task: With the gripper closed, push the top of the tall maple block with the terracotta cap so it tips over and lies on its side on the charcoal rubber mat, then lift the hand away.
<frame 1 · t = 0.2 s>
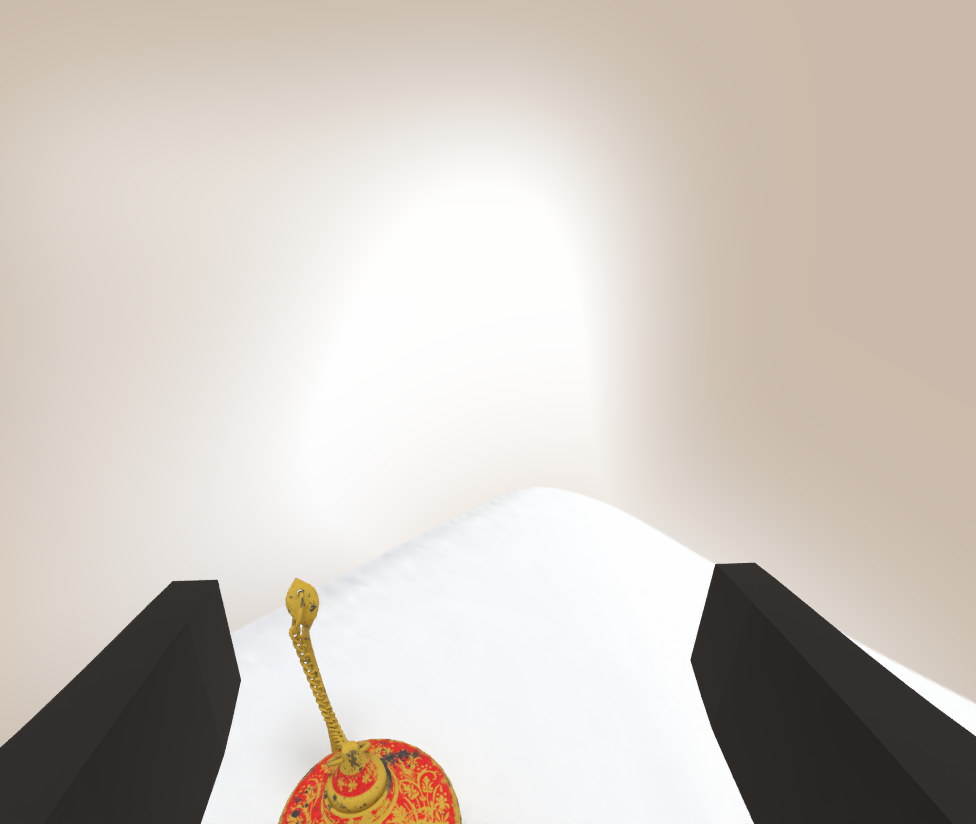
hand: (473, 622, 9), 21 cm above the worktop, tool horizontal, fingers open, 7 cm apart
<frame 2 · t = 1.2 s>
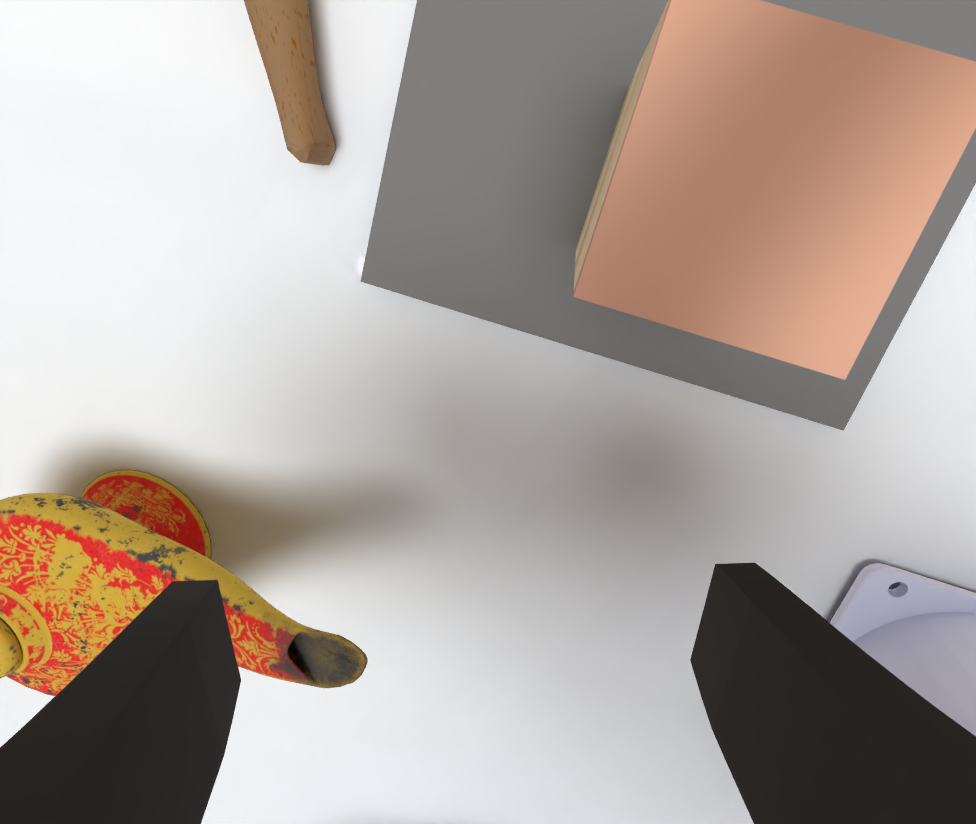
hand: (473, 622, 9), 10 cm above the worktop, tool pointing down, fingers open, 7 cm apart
magic lamp: (188, 529, 22), on the worktop
rubber mat: (701, 62, 15), on the worktop
maple block: (677, 194, 16), resting on rubber mat
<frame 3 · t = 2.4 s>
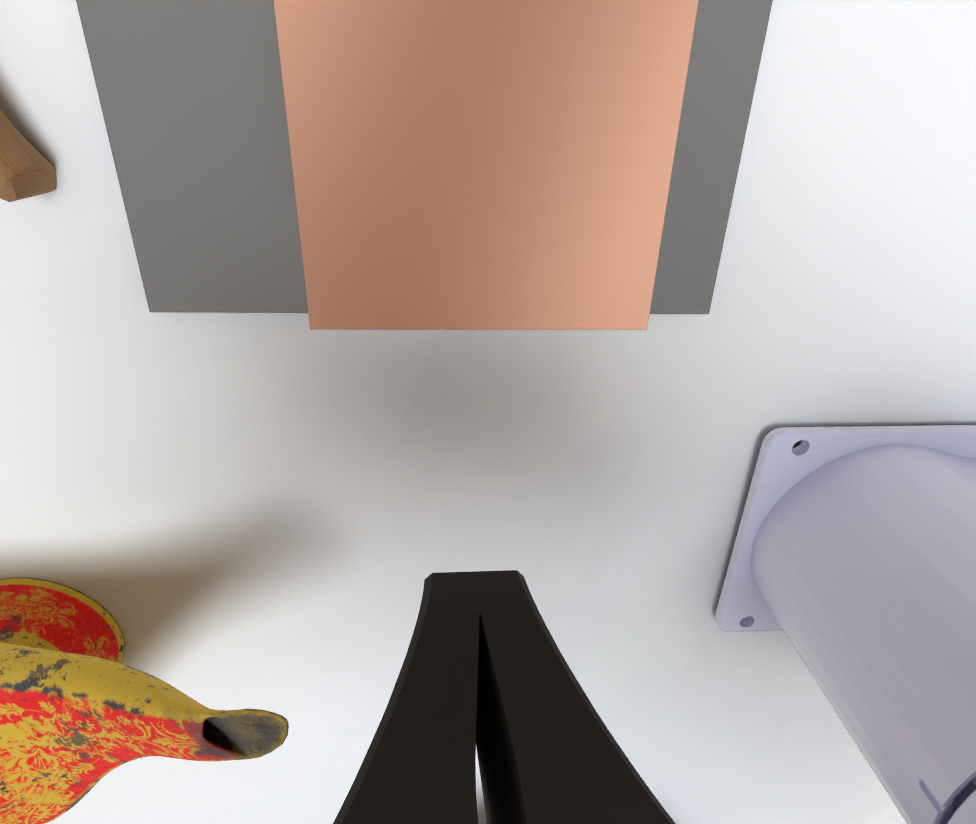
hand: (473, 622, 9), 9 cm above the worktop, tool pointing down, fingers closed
magic lamp: (87, 615, 20), on the worktop
maple block: (460, 115, 13), resting on rubber mat
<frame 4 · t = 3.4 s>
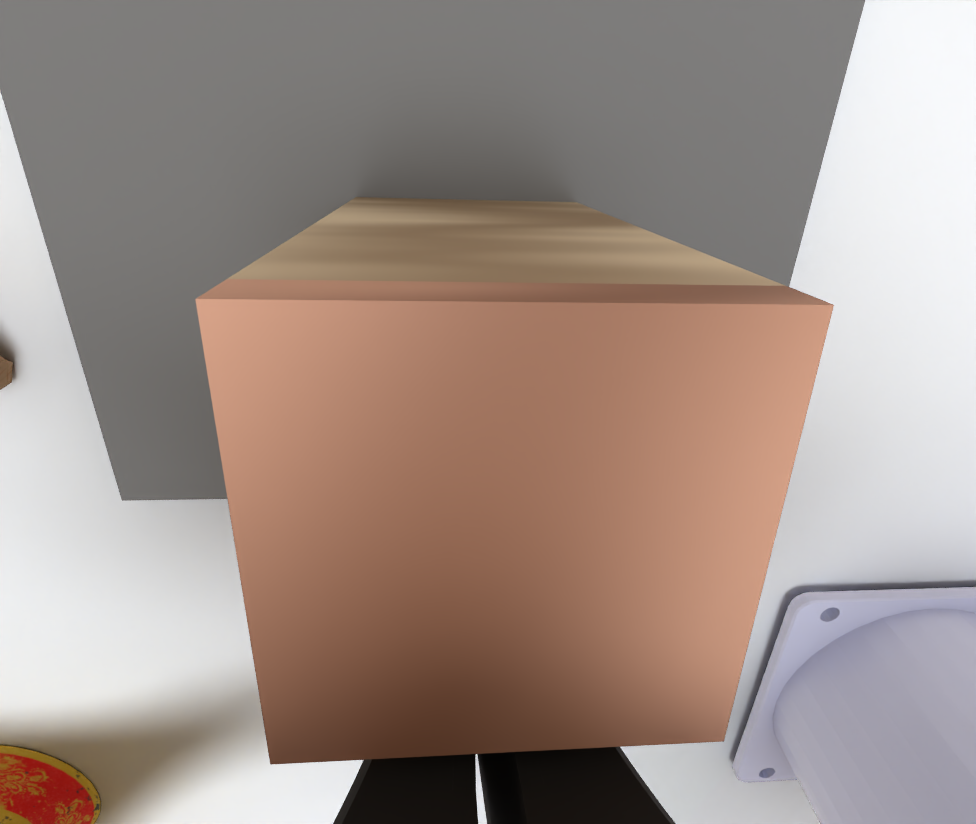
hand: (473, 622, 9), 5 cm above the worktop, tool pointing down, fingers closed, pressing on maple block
magic lamp: (60, 774, 19), on the worktop
rubber mat: (439, 137, 11), on the worktop
maple block: (466, 308, 12), point 1 cm above the worktop, touching gripper, rubber mat
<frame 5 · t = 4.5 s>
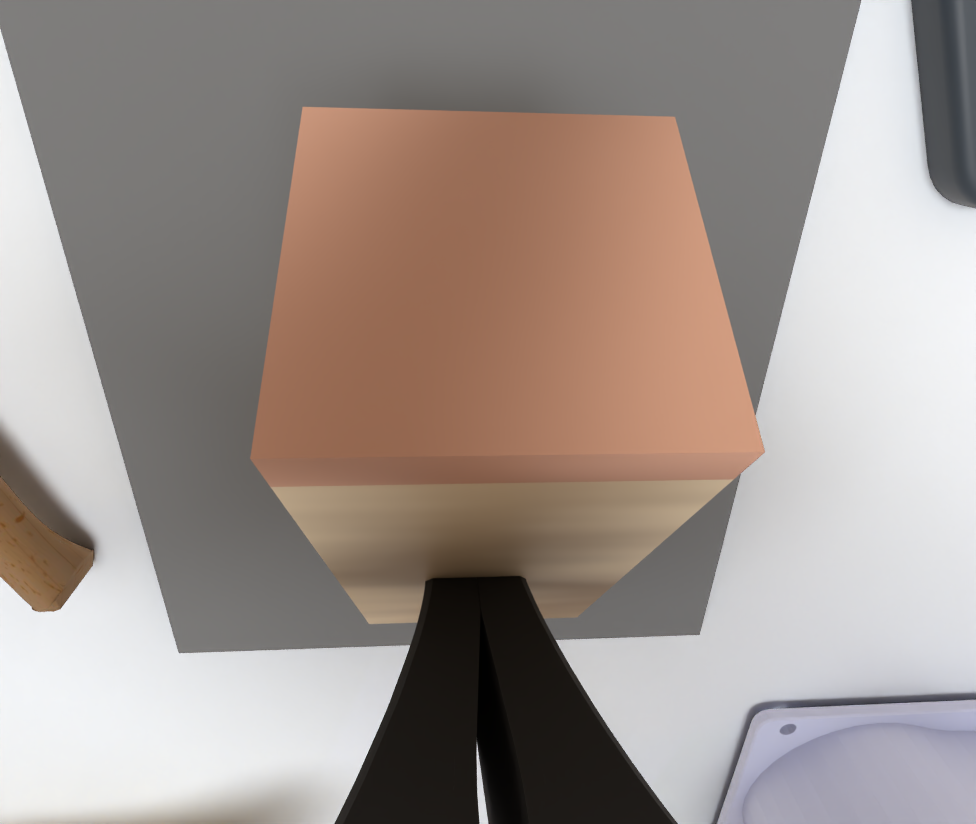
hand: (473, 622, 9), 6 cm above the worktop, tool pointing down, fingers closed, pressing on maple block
rubber mat: (446, 384, 14), on the worktop
maple block: (471, 520, 13), point 2 cm above the worktop, tilted 55°, touching gripper, rubber mat
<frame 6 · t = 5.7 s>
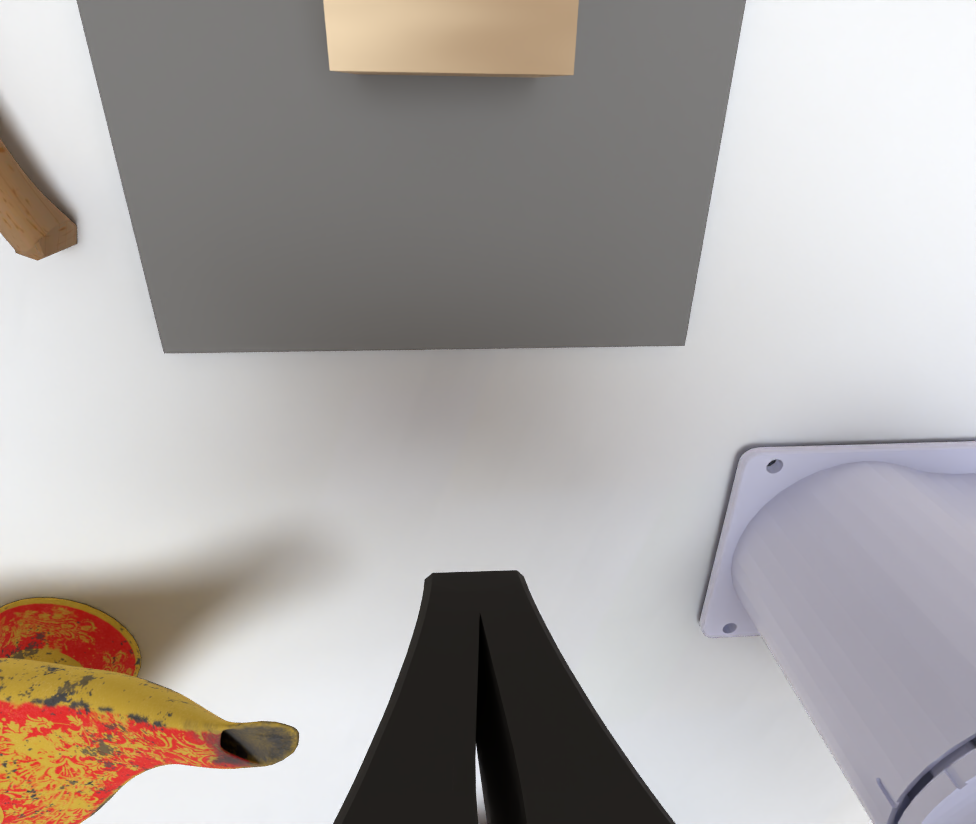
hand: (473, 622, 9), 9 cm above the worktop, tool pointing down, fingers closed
magic lamp: (105, 631, 21), on the worktop
rubber mat: (424, 23, 13), on the worktop
maple block: (450, 74, 12), point 2 cm above the worktop, tilted 90°, touching rubber mat
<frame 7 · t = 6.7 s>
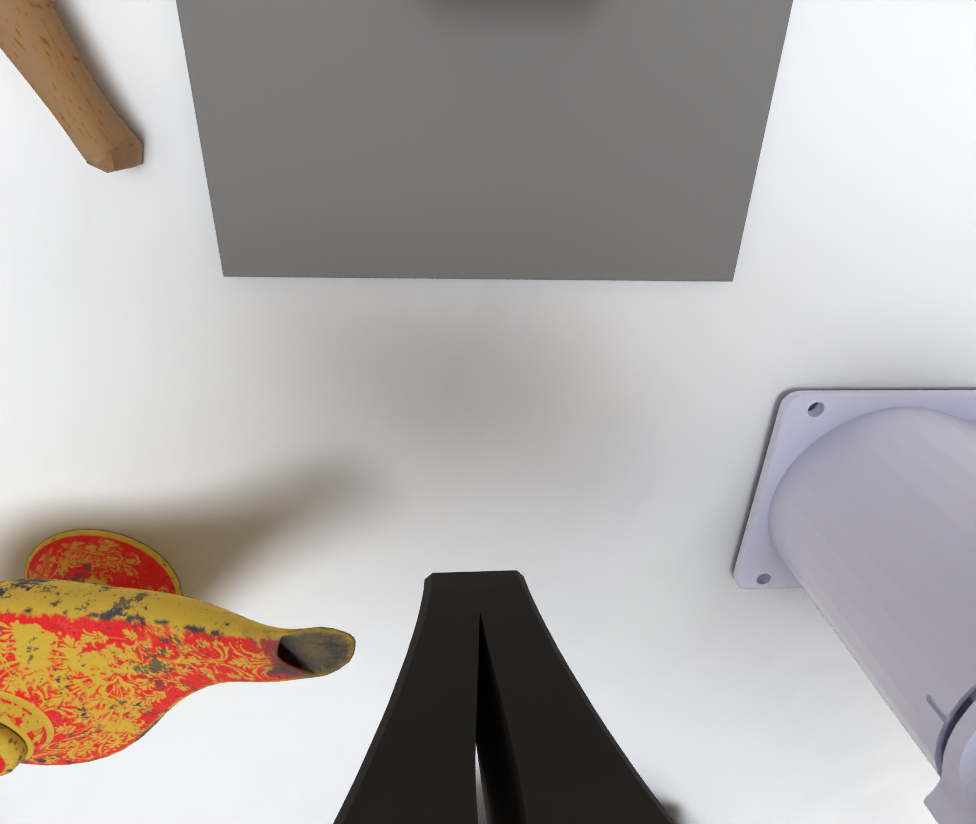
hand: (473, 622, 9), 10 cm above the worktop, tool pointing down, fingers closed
magic lamp: (148, 567, 22), on the worktop
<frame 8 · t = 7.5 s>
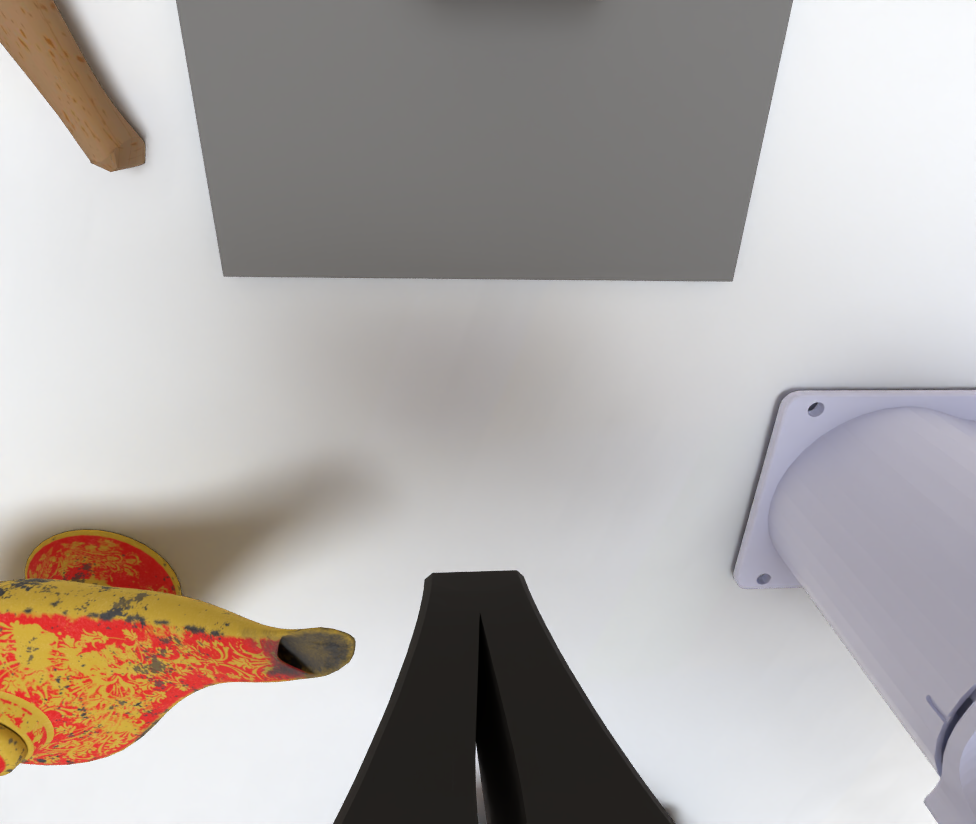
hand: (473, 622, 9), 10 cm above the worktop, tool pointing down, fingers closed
magic lamp: (148, 567, 22), on the worktop
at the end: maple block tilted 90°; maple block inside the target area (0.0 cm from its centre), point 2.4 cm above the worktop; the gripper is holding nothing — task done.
